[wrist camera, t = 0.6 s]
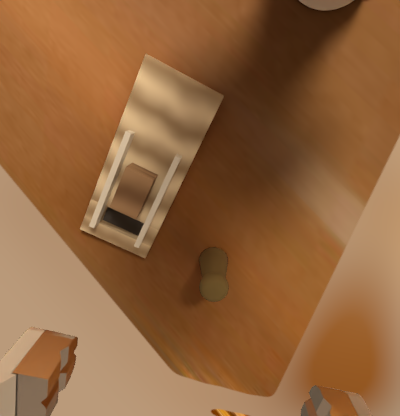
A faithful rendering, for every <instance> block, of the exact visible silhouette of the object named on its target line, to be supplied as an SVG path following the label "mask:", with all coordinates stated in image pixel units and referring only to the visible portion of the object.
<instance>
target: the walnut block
mask: <svg viewBox="0 0 400 416" xmlns="http://www.w3.org/2000/svg"><path fill="white" fill-rule="evenodd" d="M157 176H158V175H157V174H155V173H153V172H151V171H149V170H147V169H145V168H143V167H141V166H139V165H137V164H135V163H131V164H129V165H128V166H126V168H125V170H124V173H123V175H122V178H121V180H120V183H119V185H118V188H117V190H116V193H115V195H114V197H113V200H112V202H111V205H110V208H112V209H114V210H117V211H119V212H121V213H123V214H125V215H127V216H130V217H132V218H134V219H137V217H138V216H139V215H140V213H141V212H142V209H143V207H144V205H145V203H146V201H147V198H148V196H149V194H150V192H151V189H152V187H153V185H154V183H155V181H156V178H157Z"/></svg>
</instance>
